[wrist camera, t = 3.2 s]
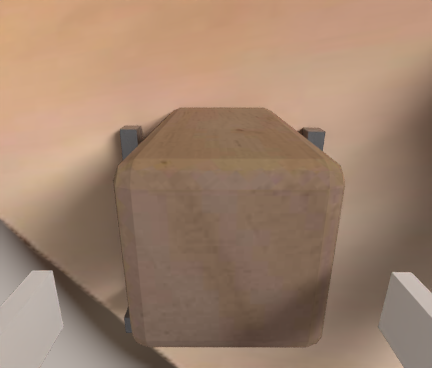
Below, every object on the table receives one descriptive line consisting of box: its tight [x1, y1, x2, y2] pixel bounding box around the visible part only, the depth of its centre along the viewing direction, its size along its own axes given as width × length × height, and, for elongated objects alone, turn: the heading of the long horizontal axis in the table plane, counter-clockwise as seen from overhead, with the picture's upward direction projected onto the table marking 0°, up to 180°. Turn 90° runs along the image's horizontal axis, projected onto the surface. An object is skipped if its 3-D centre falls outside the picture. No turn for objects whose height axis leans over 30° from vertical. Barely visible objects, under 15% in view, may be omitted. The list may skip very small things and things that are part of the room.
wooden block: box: [113, 108, 345, 347], centre depth 23 cm, size 10×10×20 cm
